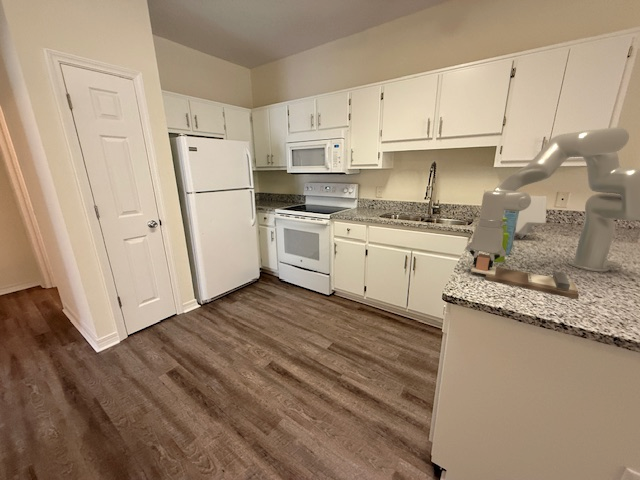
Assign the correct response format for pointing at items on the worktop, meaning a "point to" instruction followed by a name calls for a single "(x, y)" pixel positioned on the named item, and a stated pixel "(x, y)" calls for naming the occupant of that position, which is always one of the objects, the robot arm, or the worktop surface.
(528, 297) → the worktop surface
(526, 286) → the ticket board
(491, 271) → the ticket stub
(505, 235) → the soap dispenser
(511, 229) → the light blue box
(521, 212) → the white box
